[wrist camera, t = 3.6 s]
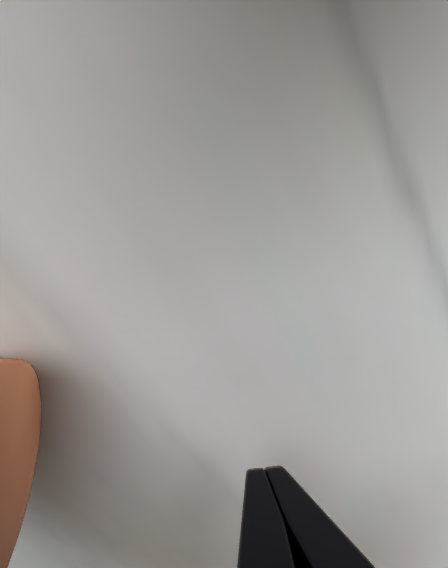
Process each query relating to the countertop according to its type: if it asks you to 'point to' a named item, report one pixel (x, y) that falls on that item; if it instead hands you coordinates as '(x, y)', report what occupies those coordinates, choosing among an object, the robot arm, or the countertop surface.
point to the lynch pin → (16, 447)
